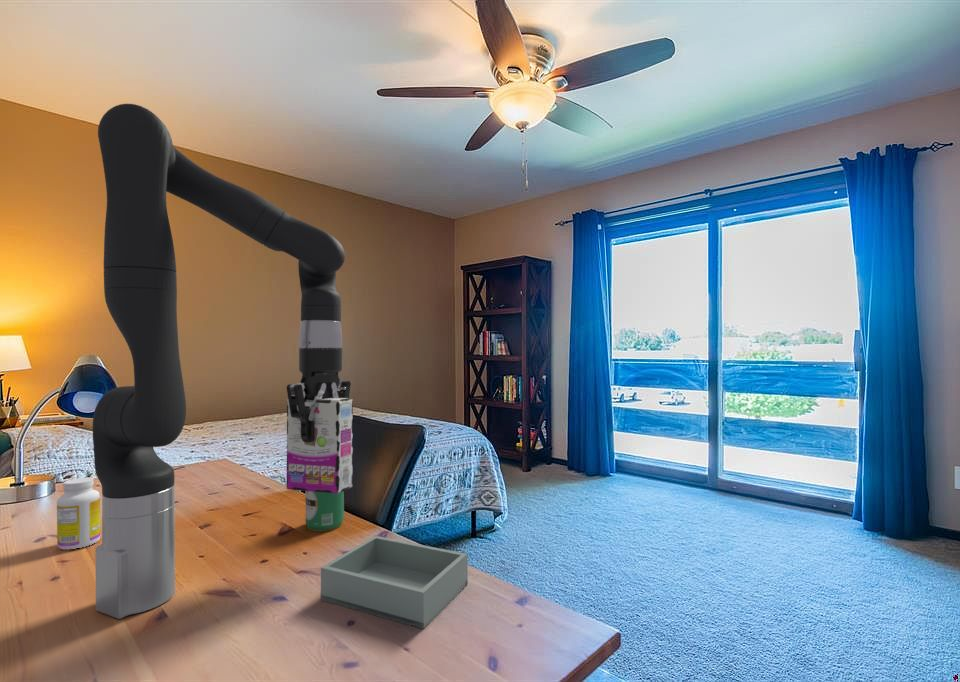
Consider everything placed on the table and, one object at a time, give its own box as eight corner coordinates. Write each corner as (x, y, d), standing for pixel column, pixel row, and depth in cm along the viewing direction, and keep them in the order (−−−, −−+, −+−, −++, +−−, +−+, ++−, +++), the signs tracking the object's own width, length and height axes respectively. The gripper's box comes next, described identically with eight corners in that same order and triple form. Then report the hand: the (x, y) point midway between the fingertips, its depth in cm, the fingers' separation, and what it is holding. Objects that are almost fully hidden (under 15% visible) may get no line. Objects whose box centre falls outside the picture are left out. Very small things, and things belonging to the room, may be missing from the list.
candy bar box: (354, 487, 89) (354, 397, 89) (338, 495, 84) (338, 400, 84) (302, 482, 92) (303, 396, 92) (284, 489, 87) (285, 398, 88)
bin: (423, 628, 67) (423, 592, 67) (320, 599, 75) (320, 567, 75) (467, 584, 79) (467, 553, 79) (375, 563, 87) (375, 535, 87)
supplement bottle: (95, 535, 102) (95, 474, 102) (104, 543, 97) (104, 479, 97) (53, 545, 96) (53, 481, 96) (61, 554, 92) (60, 487, 92)
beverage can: (299, 525, 106) (298, 470, 106) (332, 516, 112) (332, 464, 112) (316, 535, 100) (316, 477, 101) (350, 525, 106) (350, 470, 106)
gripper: (306, 345, 81) (305, 447, 80) (362, 346, 94) (362, 434, 93) (274, 345, 84) (273, 444, 83) (332, 347, 97) (332, 432, 96)
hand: (320, 438), depth 88 cm, fingers closed on candy bar box, 5 cm apart
